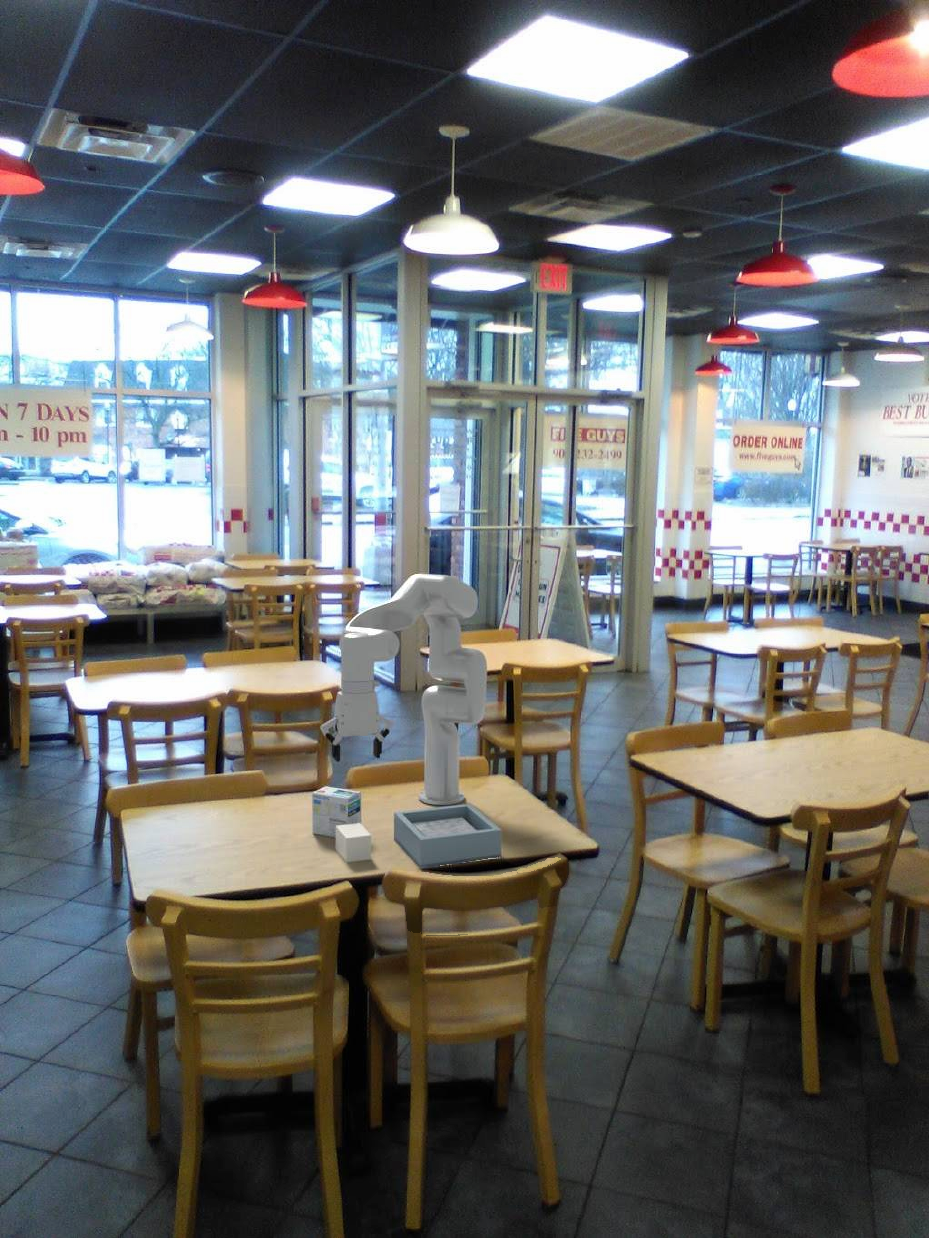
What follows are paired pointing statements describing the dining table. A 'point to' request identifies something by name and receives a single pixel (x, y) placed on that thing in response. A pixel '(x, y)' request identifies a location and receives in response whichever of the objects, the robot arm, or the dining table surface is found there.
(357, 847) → the white rectangular block
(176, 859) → the dining table surface
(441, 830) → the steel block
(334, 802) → the light bulb box
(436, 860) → the tray
